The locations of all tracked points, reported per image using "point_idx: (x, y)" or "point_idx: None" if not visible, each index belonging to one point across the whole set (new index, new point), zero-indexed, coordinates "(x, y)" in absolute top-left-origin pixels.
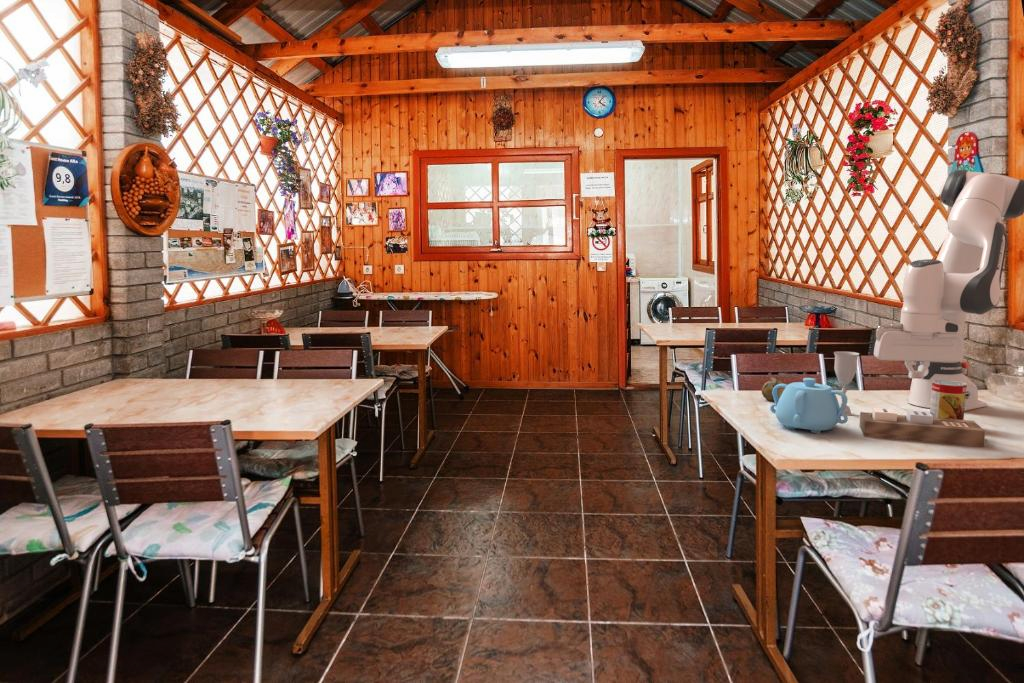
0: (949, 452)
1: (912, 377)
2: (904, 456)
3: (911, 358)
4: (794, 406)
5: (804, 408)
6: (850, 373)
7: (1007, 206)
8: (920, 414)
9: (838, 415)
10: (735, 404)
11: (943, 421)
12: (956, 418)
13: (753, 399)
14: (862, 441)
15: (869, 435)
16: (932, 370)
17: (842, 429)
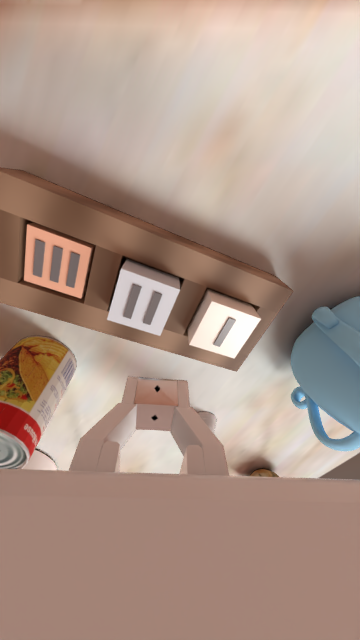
0: (151, 102)
1: (183, 380)
2: (326, 44)
3: (232, 494)
4: None
5: None
6: None
7: None
8: (148, 291)
9: (342, 321)
10: (336, 455)
11: (77, 296)
12: (21, 350)
13: (286, 475)
14: (314, 232)
15: (268, 273)
16: None
17: (280, 329)
